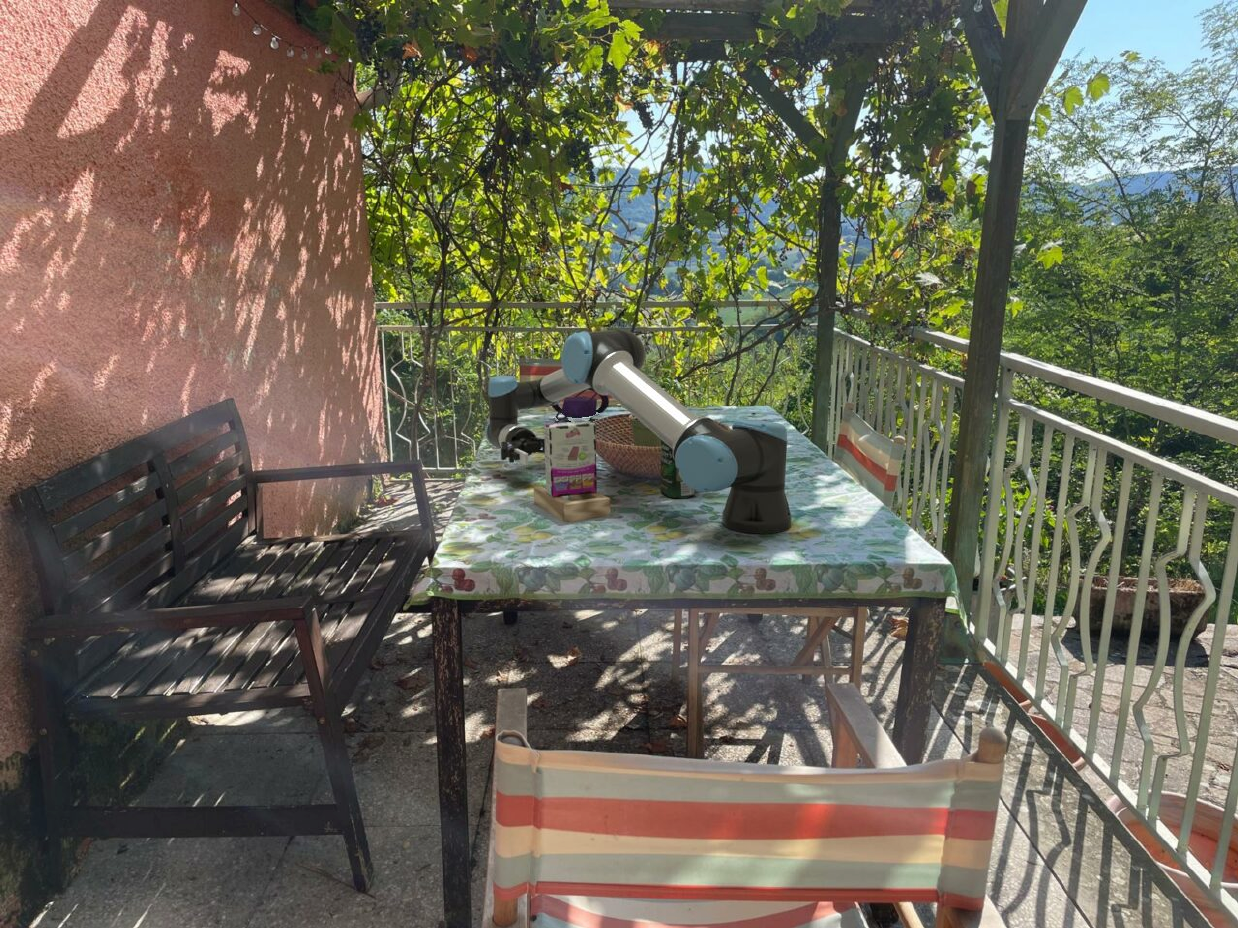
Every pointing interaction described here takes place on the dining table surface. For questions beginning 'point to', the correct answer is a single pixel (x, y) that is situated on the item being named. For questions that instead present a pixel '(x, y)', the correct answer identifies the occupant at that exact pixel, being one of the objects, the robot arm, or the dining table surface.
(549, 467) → the candy bar box
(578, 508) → the frame
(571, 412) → the purple handbag
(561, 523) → the mat
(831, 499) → the dining table surface
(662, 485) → the coffee jar
